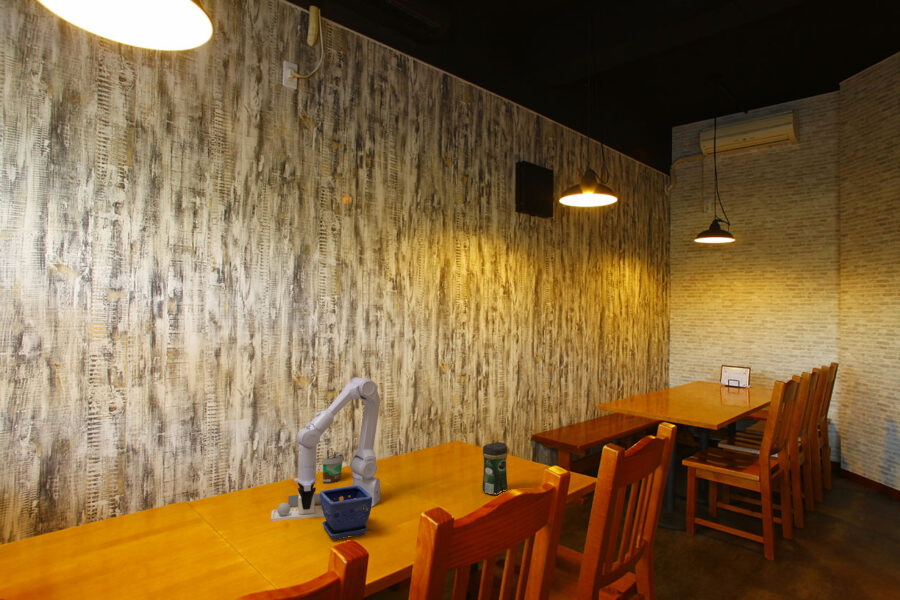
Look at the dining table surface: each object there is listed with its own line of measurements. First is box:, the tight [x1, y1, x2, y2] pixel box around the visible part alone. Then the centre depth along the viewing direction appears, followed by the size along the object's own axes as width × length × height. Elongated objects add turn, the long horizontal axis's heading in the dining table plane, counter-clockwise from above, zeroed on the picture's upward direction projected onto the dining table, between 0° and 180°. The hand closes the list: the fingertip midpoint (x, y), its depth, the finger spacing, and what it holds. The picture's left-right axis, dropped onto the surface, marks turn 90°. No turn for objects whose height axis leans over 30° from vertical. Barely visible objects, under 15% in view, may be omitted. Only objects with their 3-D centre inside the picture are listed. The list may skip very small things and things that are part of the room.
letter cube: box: [297, 493, 315, 514], centre depth 173 cm, size 5×5×5 cm
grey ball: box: [277, 502, 291, 516], centre depth 171 cm, size 4×4×4 cm
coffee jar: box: [481, 441, 508, 495], centre depth 199 cm, size 10×8×19 cm
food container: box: [321, 451, 345, 485], centre depth 210 cm, size 12×6×10 cm, turn 168°
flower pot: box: [319, 485, 372, 540], centre depth 159 cm, size 13×13×12 cm
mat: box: [287, 492, 321, 508], centre depth 185 cm, size 11×11×1 cm
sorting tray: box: [270, 505, 324, 522], centre depth 173 cm, size 22×8×1 cm, turn 107°
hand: (306, 506), depth 173 cm, fingers closed on letter cube, 5 cm apart
